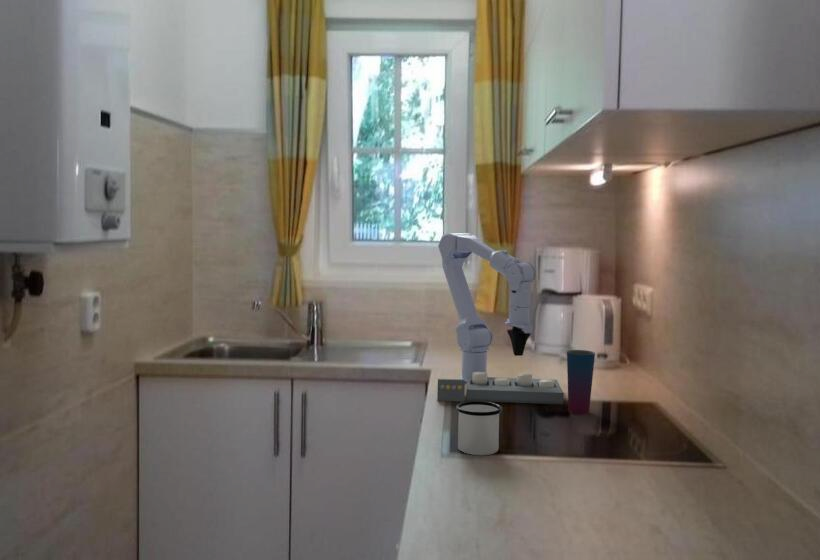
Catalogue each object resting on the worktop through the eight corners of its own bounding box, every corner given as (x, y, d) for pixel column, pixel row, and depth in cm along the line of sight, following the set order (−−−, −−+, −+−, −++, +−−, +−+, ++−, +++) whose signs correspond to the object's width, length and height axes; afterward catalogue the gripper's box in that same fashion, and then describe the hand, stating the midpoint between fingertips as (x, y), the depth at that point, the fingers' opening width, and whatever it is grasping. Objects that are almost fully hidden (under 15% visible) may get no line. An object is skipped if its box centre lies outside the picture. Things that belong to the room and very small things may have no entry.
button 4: (538, 391, 205) (538, 379, 205) (553, 392, 205) (553, 379, 205) (539, 394, 201) (540, 382, 201) (554, 395, 201) (555, 382, 201)
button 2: (494, 389, 206) (494, 377, 206) (508, 390, 206) (509, 378, 206) (494, 393, 202) (494, 380, 202) (509, 393, 202) (509, 381, 202)
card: (437, 399, 197) (437, 378, 197) (464, 400, 196) (464, 379, 196) (437, 400, 196) (437, 379, 195) (464, 401, 195) (464, 380, 195)
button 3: (516, 385, 206) (516, 373, 205) (531, 385, 205) (531, 373, 205) (517, 388, 202) (517, 376, 201) (532, 389, 201) (532, 376, 201)
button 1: (472, 383, 206) (472, 371, 206) (486, 384, 206) (487, 372, 206) (472, 387, 203) (472, 374, 202) (487, 387, 202) (487, 375, 202)
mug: (499, 458, 150) (500, 414, 149) (451, 454, 151) (452, 410, 151) (503, 441, 161) (504, 399, 161) (460, 437, 163) (461, 396, 162)
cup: (581, 416, 182) (583, 355, 181) (559, 410, 188) (561, 351, 186) (598, 412, 187) (600, 352, 185) (576, 406, 192) (578, 348, 191)
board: (466, 386, 212) (467, 376, 212) (556, 390, 210) (556, 379, 210) (466, 400, 196) (466, 389, 196) (563, 404, 194) (563, 392, 194)
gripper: (497, 303, 213) (495, 350, 214) (515, 309, 199) (513, 360, 200) (520, 303, 215) (519, 350, 216) (540, 309, 201) (538, 359, 202)
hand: (518, 355), depth 208 cm, fingers closed
